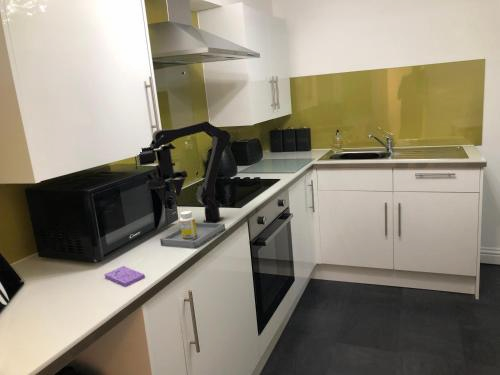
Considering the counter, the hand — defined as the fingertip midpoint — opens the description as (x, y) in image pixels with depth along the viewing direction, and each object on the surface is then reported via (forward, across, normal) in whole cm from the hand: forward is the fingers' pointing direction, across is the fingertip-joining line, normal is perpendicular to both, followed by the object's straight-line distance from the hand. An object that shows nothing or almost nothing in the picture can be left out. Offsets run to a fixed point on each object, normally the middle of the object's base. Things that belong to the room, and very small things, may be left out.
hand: (171, 199), depth 168 cm
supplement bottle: (+12, +11, +15) cm, 22 cm away
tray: (+13, +7, +14) cm, 20 cm away
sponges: (+14, +43, +13) cm, 47 cm away
